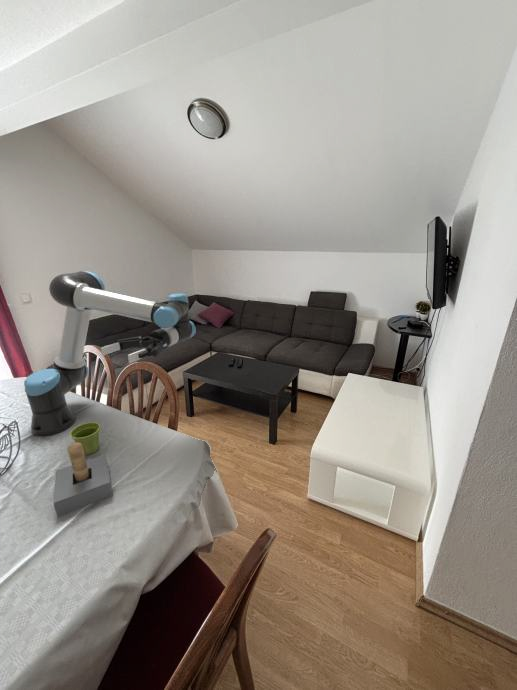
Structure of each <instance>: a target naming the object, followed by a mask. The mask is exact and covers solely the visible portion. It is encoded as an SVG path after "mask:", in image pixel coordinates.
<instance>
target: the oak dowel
mask: <svg viewBox="0 0 517 690" xmlns="http://www.w3.org/2000/svg"><path fill="white" fill-rule="evenodd" d="M67 452H68V455H69V456H68V457H69V460H70V463H71V464H70V465H72V468H73V472H74V475H75V479H76V483H80V482H83V481H85V480H88V479H90V476H89V471H88V467H87V463H86V455H85V454H84V451H83V447H82V444H81V443H76V442H74V443H72V444H70V445H68V446H67Z"/></svg>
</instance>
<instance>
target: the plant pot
mask: <svg viewBox="0 0 517 690" xmlns="http://www.w3.org/2000/svg"><path fill="white" fill-rule="evenodd" d="M100 429H101V425H100V423H98V422H94V421H91V422H85V423H82V424H79V425H77V426H76V427H74V428H73V429H72V430H70V432H69V435H70V438H71V439H73V440H74V443H81V444H82V447H83V451H84V455H85V456H86V455H89V454H93V453H95V452H96V451H98V450H99V448H100V434H99V432H100Z"/></svg>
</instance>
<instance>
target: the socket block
mask: <svg viewBox="0 0 517 690" xmlns="http://www.w3.org/2000/svg"><path fill="white" fill-rule="evenodd" d="M107 458H108V457H107V454H102V455H100V456H99V455H98V456H96V457H93V458H90V459H87V460H86V463H87V467H88V471H89V476H90V479H88V480H85V481H83V482H80V483H76V479H75V475H74V472H73V468H72V464H70V465H68V466H65V467H61V468H58V469H55V476H54V490H53V491H54V492H53V506H54V509H55V513H56V516H57V517H59V516H62V515H64V514H65V515H66V514H67V513H70V512H73V511H75V510H78V509H80V508H83V507H85V506H88V505H90V504H93V503H96V502H99V501H101V500H103V499H106V498H108V497H111V496H113V493H114V492H113V488H112V481H111V477H110V476H111V474H110V470H109V463H108V459H107Z"/></svg>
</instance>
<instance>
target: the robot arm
mask: <svg viewBox="0 0 517 690" xmlns="http://www.w3.org/2000/svg"><path fill="white" fill-rule="evenodd" d="M48 288H49V289H48V291H49V293H50V296H51V297H52V299H53V300H54V301H55V302H56V303H58V304H60V305H61V306H65V307H66V309H65V310H66V311H65V316H64V317H65V318H64V323H63V330H62V337H61V341H60V349H59V355H58V356H56V357H55V358H54V361H53V366H52V368H45V369H40V370H39V371H35V372H32V373H31V374H29V375H28V376H27V377H26V378H25V380H24V381H23V385H24V392H25V394H26V397H27V401H28V404H29V407H30V410H31V413H32V416H31V424H30V430H31V432H32V434H33V435H35V436H38V437H45V436H52V435H55V434H59V433H61V432H63V431H65V430H68V429H70V427H72V425H74V424H75V422H76V416H75V413H74V411H72V410H71V407H69V405H68V403H67V401H66V396H65V395H66V394H68V393H69V392H70V391H72V390H73V389H75V388H76V387H77V386H79V385H81V384H82V383H83V382H84V381H85V380H86V378H87V377H88V375H89V367H88V366H87V363H86V360H85V359H84V358H83V356H84V351H85V345H86V341H87V334H88V329H89V325H90V320H91V313H92V311H98V312H103V313H107V314H108V313H109V314H112V315H118V316H121V317H127V318H131V319H135V320H141V321H145V322H150V323H155V325H157V327H159V328H158V329H155V330H153V331H152V332H150V334H149V336H144V335H139V336H135V337H133V336H132V337H127V338H123V339H116V340H114V343H112V344H108V345H104V346H101V347H100V352H101V356H106V355H109V354H112V353H115V352H117V351H118V352H119V351H121V349H128V348H129V349H130V348H138V349H139V348H142V349H140V350H137V351H134V352H131V353H130V354H127V359H128V363H129V364H133V363H135V362H137V361H140V360H142V359H144V358H147V357H153V358H157V356H159V354H161V353H162V352H163V351H164V350H165V349H167V348H168V347H172V345H173V346H174V345H175V344H178V343H180V342H183V341H186V340H187V341H188V340H189V339H191V338H192V337H194V336H195V335H196V333H197V330H196V329H197V327H196V326H195V323H194V322H193V321H191V320H190V308H189V304H190V303H189V302H190V301H189V298H188V295H187V294H185V293H172V294H169V295H168V300H167V301H168V303H162V302H158V301H153V300H148V299H145V298H144V299H143V298H140V297H136V296H129V295H126V294H120V293H116V292H112V291H108V290H105V289H106V288H105V284H104V282H103V280H102V279H101V277H100V276H98V275H97V274H96V273H94V272H91V271H87V270H86V271H83V270H80V271H76V272H71V273H62V274H58V275H56V276H55V277H54V278H53V279H52V280H51V282H50V283H49V287H48ZM143 336H144V337H143Z"/></svg>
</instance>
